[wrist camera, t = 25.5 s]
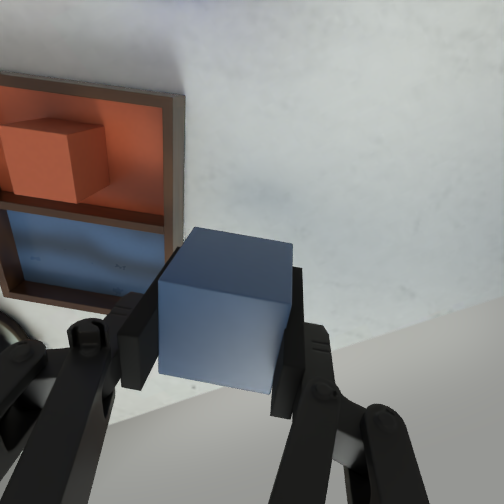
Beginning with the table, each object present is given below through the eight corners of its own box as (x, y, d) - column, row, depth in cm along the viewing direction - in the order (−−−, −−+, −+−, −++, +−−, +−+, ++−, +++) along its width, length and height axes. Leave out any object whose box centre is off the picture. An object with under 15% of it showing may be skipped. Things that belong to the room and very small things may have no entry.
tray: (182, 308, 36) (173, 326, 33) (24, 281, 36) (3, 297, 34) (185, 95, 26) (172, 97, 23) (-32, 66, 26) (-68, 64, 24)
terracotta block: (104, 125, 27) (66, 134, 22) (110, 185, 29) (76, 204, 25) (45, 117, 27) (-4, 124, 22) (56, 177, 29) (13, 194, 25)
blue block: (293, 243, 16) (292, 304, 12) (275, 320, 19) (269, 395, 14) (194, 226, 16) (157, 279, 12) (190, 305, 19) (157, 374, 14)
